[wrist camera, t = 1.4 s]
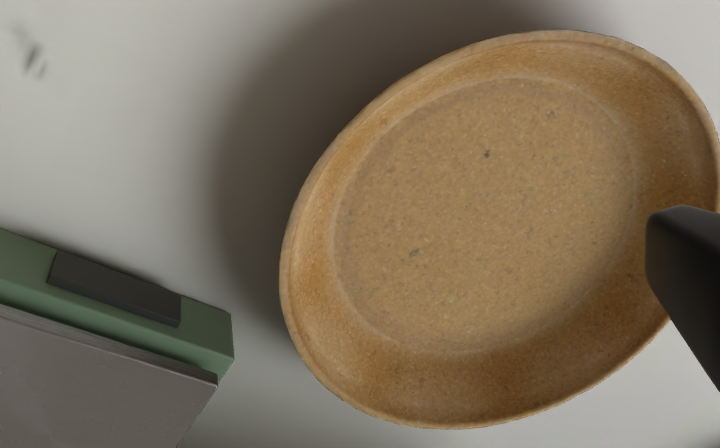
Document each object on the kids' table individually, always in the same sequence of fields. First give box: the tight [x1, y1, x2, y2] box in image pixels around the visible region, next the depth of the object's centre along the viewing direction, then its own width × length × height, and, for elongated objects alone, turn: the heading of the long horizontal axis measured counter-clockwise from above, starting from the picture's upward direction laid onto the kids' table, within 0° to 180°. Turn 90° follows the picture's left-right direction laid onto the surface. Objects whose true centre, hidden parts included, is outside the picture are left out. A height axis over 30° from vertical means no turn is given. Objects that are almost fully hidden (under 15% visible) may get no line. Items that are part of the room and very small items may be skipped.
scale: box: [0, 229, 234, 383], centre depth 22 cm, size 8×8×2 cm
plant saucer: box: [279, 29, 720, 429], centre depth 23 cm, size 15×15×3 cm
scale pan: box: [0, 303, 218, 448], centre depth 20 cm, size 7×7×1 cm
